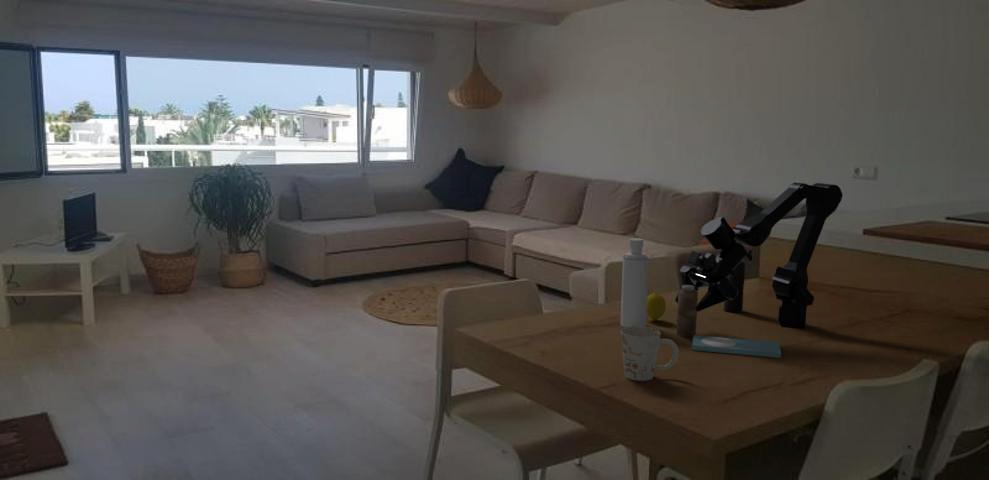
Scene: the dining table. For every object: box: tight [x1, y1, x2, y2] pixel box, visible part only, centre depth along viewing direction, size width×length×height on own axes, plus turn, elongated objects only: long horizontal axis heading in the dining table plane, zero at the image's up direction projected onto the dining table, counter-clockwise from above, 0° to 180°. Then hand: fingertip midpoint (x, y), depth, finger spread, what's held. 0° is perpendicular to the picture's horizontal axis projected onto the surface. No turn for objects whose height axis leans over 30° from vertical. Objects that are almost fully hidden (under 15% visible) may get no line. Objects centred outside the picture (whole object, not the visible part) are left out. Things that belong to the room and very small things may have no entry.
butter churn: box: [722, 214, 747, 313], centre depth 216 cm, size 9×10×28 cm
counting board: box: [691, 334, 782, 359], centre depth 182 cm, size 20×9×1 cm, turn 73°
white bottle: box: [620, 237, 650, 328], centre depth 200 cm, size 7×7×25 cm
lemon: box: [646, 291, 666, 322], centre depth 206 cm, size 6×6×8 cm
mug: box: [620, 326, 680, 382], centre depth 161 cm, size 8×13×10 cm, turn 95°
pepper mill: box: [676, 285, 699, 338], centre depth 192 cm, size 5×5×13 cm
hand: (686, 306), depth 192 cm, fingers open, 9 cm apart
